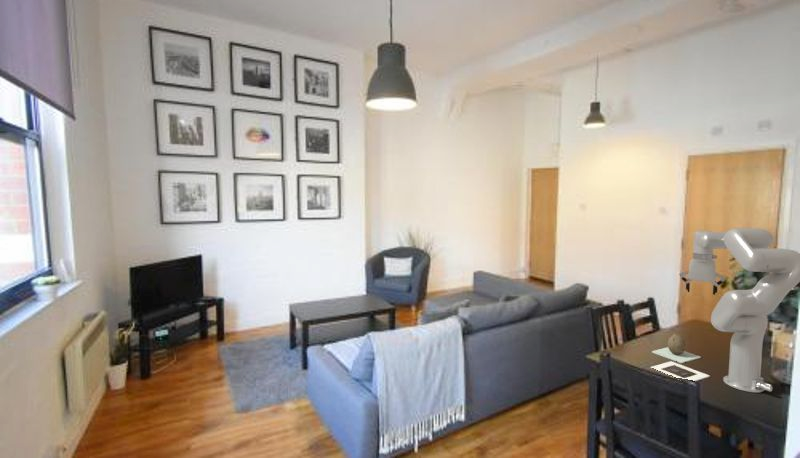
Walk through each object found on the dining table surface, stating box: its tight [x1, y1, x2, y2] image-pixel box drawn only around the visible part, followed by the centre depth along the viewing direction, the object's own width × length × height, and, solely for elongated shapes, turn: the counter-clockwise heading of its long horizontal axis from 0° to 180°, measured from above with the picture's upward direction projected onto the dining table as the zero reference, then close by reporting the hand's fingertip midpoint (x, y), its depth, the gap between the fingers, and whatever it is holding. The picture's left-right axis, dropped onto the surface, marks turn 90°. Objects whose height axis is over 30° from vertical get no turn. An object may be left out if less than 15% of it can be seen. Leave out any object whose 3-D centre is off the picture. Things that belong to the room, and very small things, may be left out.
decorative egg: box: [667, 333, 687, 355], centre depth 187 cm, size 7×7×10 cm
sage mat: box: [651, 346, 702, 364], centre depth 188 cm, size 14×14×1 cm
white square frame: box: [650, 360, 711, 382], centre depth 170 cm, size 16×14×1 cm
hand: (701, 292), depth 186 cm, fingers open, 9 cm apart
